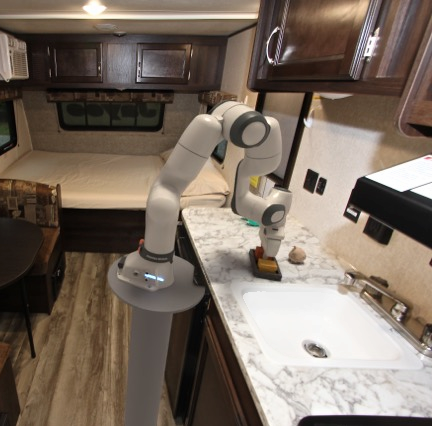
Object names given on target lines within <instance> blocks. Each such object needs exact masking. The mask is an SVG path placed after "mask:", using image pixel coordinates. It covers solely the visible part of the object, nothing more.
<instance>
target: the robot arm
mask: <svg viewBox="0 0 432 426" xmlns="http://www.w3.org/2000/svg"><path fill="white" fill-rule="evenodd" d="M224 140H226V141H227V142H229V143H231V144H232V145H234V146H235V147H237V148H240V149H243V152H244V155H243V158H241V159H240V160H239V162H238V163H237V164H236V168H235V169H236V170H235V175H234V176H235V177H234V182H233V183H234V184H233V193H232V196H231V200H230V209H231V212H232V213H233V214H234V215H237V216H238V217H243V218H244V219H246V218H247V219H246V220H248V219H249V220H251V221H254V222H256V223H259V225H258V228H259V229H258V237H259V239H260V247H263V249H264V253H263V255H262V257H263V259H267V258H268V256H269V257H275V258H276V257H277V255H278V253H279V250H280V248H281V245H282V241H284V239H285V236H286V235H285V233H286V232H285V229H286V223H287V216H288V214H289V213H290V210H291V207H292V203H293V192H292V190H289V189H287V188H284V187H280V186H272V187H271V188H270V189H269V192H268V194H267V196H265V197H261V196H259V195H256V194H254V193H253V192H252V191H250V184H251V178H253V177H254V178H255V177H257V178H258V177H263V176H267V175H269V174H271V173H273V172H274V171H276V170H277V168H278V167H279V166H280V164H281V161H282V156H283V138H282V131H281V126H280V123H279V121H278V120H277V119H276V118H275V117H272V116H267V115H265V116H264V115H263V114H262V113H261V112H260V111H257V110H255V109H253V108H252V107H251V106H249V105H248V104H246V103H243V102H240V101H237V100H235V99H223V100H220V101H219V102H217V103H215V105H214V106H213V107H212V108H211V109H210V110H209V111H208V112H207V113H205V114H204V113H202V114H201V113H200V114H198V115H196V116H195V117H193V119H192V120H191V122H190V123H189V124H188V126H187V127H186V128H185V130H184V131H183V133H182V134H181V135H180V137H179V139H178V141H177V142H176V144H175V146H174V148H173V150H172V151H171V153H170V155H169V157H168V159H167V160H166V162H165V164H164V165H163V167H162V168H161V169H160V172H159V173H158V175H157V176H156V178H155V179H154V181H153V183H152V184H151V186H150V189H149V192H148V195H147V198H146V201H145V202H146V203H145V230H144V238H141V239H140V240H139V245H138V249H137V250H135V251H133V252H130V253H128V254H129V255H128V256H127V258H126V256H125V255H121V256H120V258H121V260H120V261H119V263H118V267H119V268H118V271H117V279H118V280H119V281H122V282H125V283H128V284H130V285H133V286H136V287H139V288H142V289H145V290H147V291H150V292H155V291H157V290H158V289H162V288H166V287H168V286H170V285H171V284H172V283H173V282H174V276H173V268H172V263H173V261H174V255H175V253H176V251H175V249H176V248H175V242H176V234H177V227H178V220H179V216H180V208H181V198H182V195H183V194H184V193H185V191H186V189H188V187H190V185H191V184H192V183H193V182H194V181H196V179H197V178H198V176H199V174H200V172H202V170H203V168H204V166H205V165H206V163H207V162H208V161H209V159H210V158H211V157H210V156H211V155H212V154H213V152H214V151H215V148H216V147H217V146H218V145H219V144H220V143H221V142H222V141H224Z"/></svg>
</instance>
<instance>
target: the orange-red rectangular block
mask: <svg viewBox="0 0 432 426" xmlns="http://www.w3.org/2000/svg"><path fill="white" fill-rule="evenodd" d="M254 249H255V253H254V254H255V258H256V259H258V260H259V259H263V257H262V255H263V253H264V249H263V247H261V245H256V246H255V248H254ZM265 260H271V261H272V257H269V256H268V258H267V259H265Z"/></svg>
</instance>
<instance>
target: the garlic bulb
mask: <svg viewBox="0 0 432 426" xmlns="http://www.w3.org/2000/svg"><path fill="white" fill-rule="evenodd" d="M288 258H289V260H290V261H291V262H293V263H303V262H304V261H305V260H306V259H307V253H306V252H305V250H304V249H302V248H300V247H298V246H296V245H293V246H292V248H291V250H290V251H289V253H288Z"/></svg>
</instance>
